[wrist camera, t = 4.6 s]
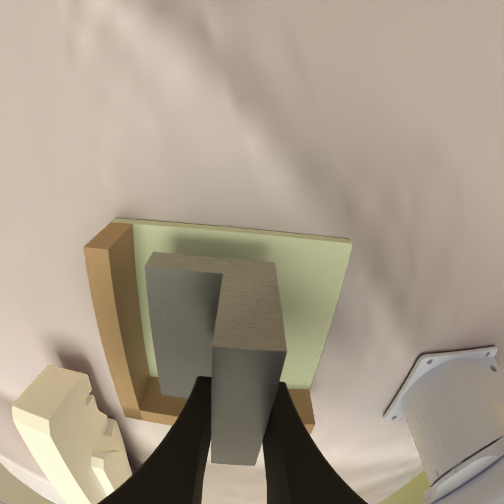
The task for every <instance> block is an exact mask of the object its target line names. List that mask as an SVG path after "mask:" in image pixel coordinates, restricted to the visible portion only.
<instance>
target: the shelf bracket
mask: <svg viewBox="0 0 504 504" xmlns="http://www.w3.org/2000/svg"><path fill="white" fill-rule="evenodd" d="M91 391H92V387H91V384H90V380H89V376H88V375H87V374H84V373H80V372H76V371H72V370H68V369H64V368H60V367H56V366H52V365H48V366H47V367H46V368H45V369H44V370H43V371H42V372H41V374H40V375H39V376H38V377H37V378H36V379H35V380H34V381H33V382H32V383H31V384H30V386H29V387H28V388H27V389H26V390H25V391H24V392H23V393H22V394H21V396H20V397H19V398H18V399H17V400H16V401H15V402H14V404H13V405H12V414H13V421H14V423H15V425H16V427H17V429H18V430H19V432H20V434H21V436H22V438H23V440H24V441H25V443H26V445H27V446H28V448H29V450H30V451H31V453H32V455H33V456H34V458H35V460H36V461H37V463H38V464H39V466H40V467H41V469H42V470H43V472H44V473H45V475H46V476H47V478H48V479H49V481H50V482H51V483H52V485H53V486H54V488H55V489H56V490H57V492H58V493H59V494H60V496H61V497H62V498H63V499H64V501H65V502H66V503H67V504H97V503H99V502H100V501H101V500H103V499H104V498H105V497H107V496H108V495H109V494H111V493H112V492H113V491H115V490H116V489H117V488H118V487H120V486H121V485H122V484H123V483H124V482H125V481H126V480H127V479H128V478H129V477H131V476H132V472H131V469H130V465H129V462H128V458H127V454H126V450H125V446H124V442H123V439H122V436H121V433H120V429H119V426H118V423H117V421H116V420H115V419H110V418H107V415H105V414H104V413H102V412H100V411H99V410H98V408H97V404H96V401H95V398H94V396H93V395H89V394H90V392H91Z"/></svg>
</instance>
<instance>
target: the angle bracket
mask: <svg viewBox="0 0 504 504" xmlns="http://www.w3.org/2000/svg"><path fill="white" fill-rule="evenodd" d="M145 278H146V289H147V299H148V308H149V317H150V325H151V333H152V340H153V347H154V354H155V360H156V366H157V372H158V378H159V384H160V389H161V395H167V396H174V397H181V398H189V396H190V394H191V391H192V389H193V387H194V384H195V381H196V378H197V377H198V376H206V377H212V384H211V463H217V464H231V465H250V466H255V464H256V461H257V457H258V454H259V451H260V448H261V444H262V441H263V438H264V434H265V431H266V428H267V424H268V421H269V417H270V414H271V410H272V407H273V403H274V399H275V396H276V392H277V388H278V385H279V381H280V377H281V373H282V370H283V366H284V362H285V358H286V354H287V346H286V339H285V331H284V324H283V316H282V309H281V301H280V294H279V287H278V280H277V273H276V266H275V263H272V262H261V261H249V260H238V259H227V258H216V257H205V256H194V255H183V254H172V253H162V252H153V253H152V254H151V256H150V258H149V259H148V261H147V263H146V264H145Z"/></svg>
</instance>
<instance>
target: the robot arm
mask: <svg viewBox="0 0 504 504" xmlns="http://www.w3.org/2000/svg"><path fill="white" fill-rule="evenodd" d="M497 351H498V349H497V347H496V346H494V347H487V348H480V349H473V350H465V351H456V352H446V353H436V354H425V355H422V356H421V357H420V358H419V359H418V361H417V362H416V364H415V366H414V368H413V370H412V371H411V373H410V375H409V376H408V378H407V380H406V382H405V383H404V385H403V387H402V388H401V390H400V391H399V393H398V395H397V396H396V398H395V399H394V401H393V402H392V404H391V406H390V407H389V409H388V410H387V412H386V413H385V415H384V416H383V418H384V421H391V420H398V419H404V418H406V420H407V423H408V425H409V428H410V431H411V433H412V436H413V439H414V441H415V444H416V447H417V449H418V452H419V455H420V458H421V460H422V463H423V466H424V469H425V472H426V475H427V478H428V481H429V484H430V487H431V488H430V489H428V490H427V491H425V492H424V493H423V494H424V497H425V502H424V503H423V504H504V371H503V370H502V368H501V367H500V365H499V364H498V363H497V361H496V360H495V359H494V357H495V355H496V353H497ZM211 384H212V377H206V376H198V377H197V378H196V381H195V384H194V387H193V389H192V391H191V394H190V396H189V398H188V400H187V402H186V404H185V406H184V407H183V409H182V411H181V413H180V414H179V416H178V418H177V420H176V421H175V423H174V424H173V426H172V427H171V429H170V430H169V432H168V433H167V435H166V436H165V438H164V439H163V440H162V442H161V443H160V444H159V446H158V447H157V448H156V449H155V451H154V452H153V453H152V454H151V456H150V457H149V458H148V459H147V460H146V461H145V462H144V463H143V464H142V466H141V467H140V468H139V469H138V470H137V471H136V472H135V473H134V474H133V475H132V476H131V477H129V478H128V479H127V480H126V481H125V482H124V483H123V484H122V485H121V486H120V487H118V488H117V489H116V490H115V491H113V492H112V493H111V494H109V495H108V496H107V497H105V498H104V499H103V500H101V501H100V502H99V503H97V504H201V500H202V487H203V478H204V472H205V467H206V462H207V456H208V451H209V446H210V441H211ZM262 443H263V452H264V461H265V470H266V479H267V504H368V503H366V502H365V501H364V500H363V499H362V498H361V497H360V496H359V495H357V494H356V493H355V492H354V491H353V490H352V489H351V488H350V487H349V486H348V485H347V484H346V483H345V482H344V480H343V479H342V478H341V477H340V476H339V475H338V474H337V473H336V472H335V470H334V469H333V468H332V467H331V465H330V464H329V463H328V461H327V460H326V459H325V458H324V456H323V455H322V453H321V452H320V450H319V449H318V447H317V446H316V444H315V443H314V441H313V439H312V438H311V436H310V434H309V433H308V431H307V429H306V427H305V426H304V424H303V422H302V420H301V418H300V416H299V414H298V412H297V410H296V408H295V405H294V403H293V401H292V398H291V396H290V393H289V391H288V388H287V385H286V383H285V382H279V385H278V388H277V392H276V396H275V399H274V403H273V407H272V410H271V414H270V417H269V421H268V424H267V428H266V431H265V434H264V438H263V441H262ZM0 504H4V503H3V502H1V501H0Z"/></svg>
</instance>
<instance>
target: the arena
mask: <svg viewBox="0 0 504 504" xmlns="http://www.w3.org/2000/svg"><path fill="white" fill-rule="evenodd" d="M352 246H353V243H352V242H351V241H350V239H343V238H334V237H325V236H315V235H306V234H296V233H286V232H276V231H265V230H255V229H244V228H233V227H222V226H210V225H198V224H186V223H174V222H161V221H147V220H134V219H119V218H115V219H114V220H113V221H112V222H111V223H110V224H109V225H107V226H106V227H105V228H104V229H103V230H102V231H101V232H100V233H98V234H97V235H96V236H95V237H94V238H93V239H92V240H91V241H90V242H89V243H87V244H86V245H85V246H84V254H85V261H86V267H87V273H88V279H89V285H90V290H91V295H92V301H93V305H94V310H95V315H96V319H97V324H98V328H99V332H100V336H101V340H102V344H103V348H104V351H105V355H106V359H107V362H108V366H109V369H110V373H111V376H112V379H113V382H114V385H115V388H116V392H117V395H118V398H119V400H120V403H121V406H122V409H123V412H124V415H125V417H129V418H134V419H139V420H144V421H149V422H155V423H160V424H166V425H173V424H174V423H175V421H176V420H177V418H178V416H179V414H180V413H181V411H182V409H183V407H184V406H185V404H186V402H187V400H188V398H181V397H174V396H167V395H161V389H160V384H159V378H158V372H157V366H156V360H155V354H154V347H153V340H152V333H151V325H150V317H149V308H148V299H147V289H146V278H145V264H146V263H147V261H148V259H149V258H150V256H151V254H152V253H153V252H162V253H172V254H183V255H194V256H205V257H216V258H227V259H238V260H249V261H261V262H272V263H275V266H276V273H277V280H278V287H279V294H280V301H281V309H282V316H283V324H284V331H285V339H286V346H287V354H286V358H285V362H284V366H283V370H282V373H281V377H280V381H279V382H285V383H286V385H287V388H288V391H289V393H290V396H291V398H292V401H293V403H294V405H295V408H296V410H297V412H298V414H299V416H300V418H301V420H302V422H303V424H304V426H305V427H306V429H307V431H308V433H309V434H311V432H312V430H313V428H314V426H315V421H314V415H313V409H312V403H311V398H310V392H309V388H310V385H311V383H312V380H313V377H314V374H315V371H316V368H317V366H318V363H319V360H320V357H321V354H322V351H323V348H324V345H325V342H326V338H327V335H328V332H329V329H330V326H331V322H332V319H333V316H334V312H335V309H336V306H337V302H338V299H339V295H340V292H341V288H342V284H343V281H344V277H345V273H346V269H347V266H348V262H349V258H350V254H351V250H352Z"/></svg>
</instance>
